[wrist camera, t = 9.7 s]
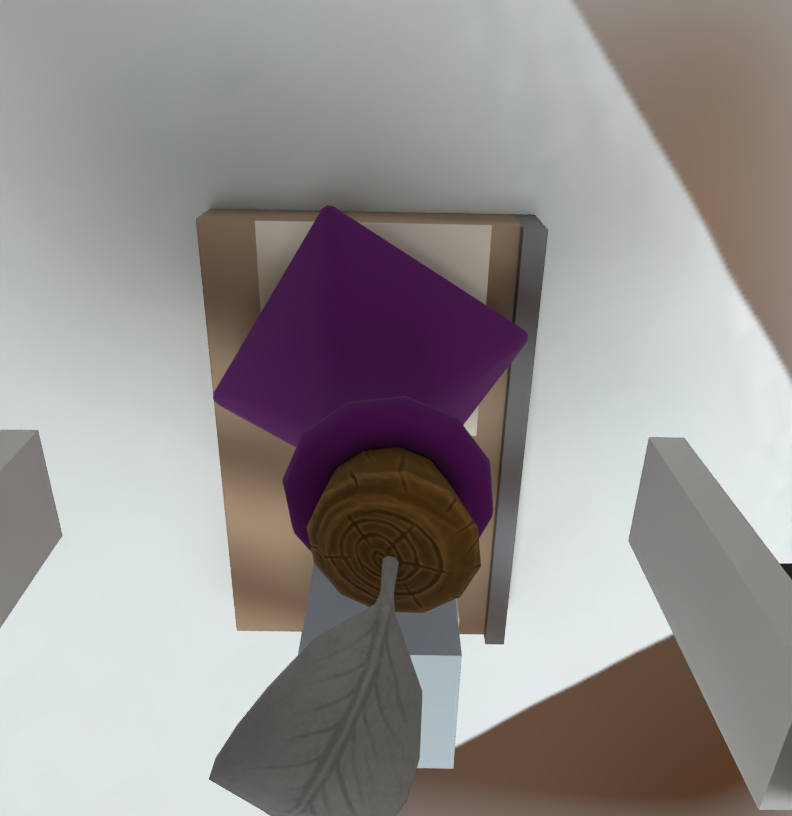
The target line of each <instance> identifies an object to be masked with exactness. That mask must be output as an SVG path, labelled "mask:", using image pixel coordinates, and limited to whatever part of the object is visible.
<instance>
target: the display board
mask: <svg viewBox="0 0 792 816" xmlns="http://www.w3.org/2000/svg"><path fill="white" fill-rule="evenodd" d="M341 212H342V211H341ZM319 213H320V211H288V210H234V209H209V210H208V211H207V212H205V213H204V214H203V215H201V216H200V217H199V218H197V219H196V224H197V234H198V245H199V255H200V265H201V275H202V285H203V295H204V305H205V315H206V325H207V335H208V345H209V355H210V365H211V375H212V385H213V394H214V391H215V389H216V388H217V386H218V384H219V383H220V381H221V379H222V378H223V376H224V374H225V373H226V371H227V369H228V367H229V366H230V364H231V362H232V361H233V359H234V357H235V356H236V354H237V352H238V350H239V349H240V347H241V345H242V344H243V342H244V340H245V339H246V337H247V335H248V333H249V332H250V330H251V328H252V327H253V325H254V323H255V322H256V320H257V318H258V316H259V315H260V313H261V311H262V310H263V308H264V306H265V305H266V303H267V301H268V299H269V298H270V296H271V294H272V293H273V291H274V289H275V288H276V286H277V284H278V283H279V281H280V279H281V277H282V276H283V274H284V272H285V271H286V269H287V267H288V266H289V264H290V262H291V260H292V259H293V257H294V255H295V254H296V252H297V250H298V249H299V247H300V245H301V243H302V242H303V240H304V238H305V237H306V235H307V233H308V232H309V230H310V228H311V226H312V225H313V223H314V221H315V220H316V218H317V216H318V215H319ZM343 213H344V214H346V215H348V216H349V217H351V218H352V219H354V220H355V221H357V222H358V223H360V224H361V225H363V226H365V227H366V228H368V229H369V230H371V231H372V232H374V233H375V234H377V235H379V236H380V237H382V238H383V239H385V240H386V241H388V242H389V243H391V244H392V245H394V246H396V247H397V248H399V249H400V250H402V251H403V252H405V253H406V254H408V255H409V256H411V257H413V258H414V259H416V260H417V261H419V262H420V263H422V264H423V265H425V266H426V267H428V268H430V269H431V270H433V271H434V272H436V273H437V274H439V275H440V276H442V277H443V278H445V279H447V280H448V281H450V282H451V283H453V284H454V285H456V286H457V287H459V288H460V289H462V290H464V291H465V292H467V293H468V294H470V295H471V296H473V297H474V298H476V299H478V300H479V301H481V302H482V303H484V304H485V305H487V306H488V307H490V308H491V309H493V310H495V311H496V312H498V313H499V314H501V315H502V316H504V317H505V318H507V319H508V320H510V321H512V322H513V323H515V324H516V325H518V326H519V327H521V328H522V329H524V330H525V331H526V332H527V334H528V339H527V342H526V344H525V345H524V347H523V348H522V349H521V351H520V352H519V353H518V354H517V356H516V357H515V358H514V360H513V361H512V362H511V364H510V365H509V366H508V368H507V369H506V370H505V371H504V373H503V374H502V375H501V377H500V378H499V379H498V381H497V382H496V383H495V384H494V386H493V387H492V388H491V390H490V391H489V392H488V394H487V395H486V396H485V397H484V399H483V400H482V401H481V403H480V404H479V405H478V407H477V408H476V409H475V411H474V412H473V413H472V414H471V416H470V417H469V418H468V420H467V421H466V422H465V424H464V425H463V426H464V427H465V428H466V430H467V431H468V432H469V434H470V435H471V436H472V438H473V439H474V440H475V442H476V443H477V444H478V445H479V447H480V448H481V449H482V451H483V452H484V453H485V455H486V456H487V457H488V459H489V460H490V465H491V480H492V494H493V508H494V510H493V515H492V518H491V520H490V521H489V523H488V525H487V526H486V528H485V530H484V531H483V533H482V535H481V536H480V538H479V546H480V558H481V567H480V569H479V570H478V572H477V573H476V575H475V576H474V578H473V579H472V581H471V582H470V584H469V585H468V587H467V588H466V590H465V591H464V592H463V594H462V595H461V597H459V598H457V602H458V611H459V634H484V638H485V644H504V636H505V627H506V618H507V608H508V599H509V589H510V580H511V571H512V561H513V552H514V543H515V533H516V524H517V515H518V505H519V496H520V487H521V477H522V468H523V459H524V449H525V440H526V430H527V421H528V412H529V402H530V393H531V384H532V374H533V365H534V356H535V346H536V337H537V328H538V318H539V309H540V299H541V290H542V281H543V271H544V262H545V253H546V243H547V234H548V229H547V228H546V227H545V226H544V225H543V224H542V223H541V222H540V220H539V219H538V218H537V217H536V216H535V215H503V214H449V213H396V212H343ZM214 405H215V416H216V426H217V436H218V446H219V456H220V466H221V476H222V486H223V496H224V506H225V516H226V526H227V536H228V546H229V556H230V566H231V577H232V587H233V597H234V607H235V617H236V627H237V630H238V631H301V632H302V629H303V623H304V618H305V612H306V606H307V600H308V594H309V588H310V582H311V577H312V571H313V565H314V560H313V556H312V552H311V551H310V550H309V549H308V548H307V547H306V546H305V545H304V543H303V542H302V541H301V540H300V539H299V538H298V537H297V536H296V535H295V534H294V531H293V528H292V524H291V519H290V515H289V510H288V505H287V500H286V495H285V491H284V486H283V481H282V479H283V477H284V474H285V472H286V470H287V468H288V465H289V463H290V461H291V458H292V456H293V454H294V452H295V449H296V447H294V446H292V445H290V444H288V443H287V442H285V441H283V440H281V439H279V438H277V437H276V436H274V435H272V434H270V433H268V432H267V431H265V430H263V429H261V428H259V427H257V426H256V425H254V424H252V423H250V422H248V421H246V420H245V419H243V418H241V417H239V416H237V415H236V414H234V413H232V412H230V411H228V410H226V409H225V408H223V407H221V406H219V405H218V404H217V403H216V402H215V401H214Z"/></svg>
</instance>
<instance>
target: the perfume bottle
mask: <svg viewBox="0 0 792 816" xmlns="http://www.w3.org/2000/svg"><path fill="white" fill-rule="evenodd" d="M527 339H528V334H527V332H526V331H525V330H524V329H522V328H521V327H519V326H518V325H516V324H515V323H513V322H512V321H510V320H508V319H507V318H505V317H504V316H502V315H501V314H499V313H498V312H496V311H495V310H493V309H491V308H490V307H488V306H487V305H485V304H484V303H482V302H481V301H479V300H478V299H476V298H474V297H473V296H471V295H470V294H468V293H467V292H465V291H464V290H462V289H460V288H459V287H457V286H456V285H454V284H453V283H451V282H450V281H448V280H447V279H445V278H443V277H442V276H440V275H439V274H437V273H436V272H434V271H433V270H431V269H430V268H428V267H426V266H425V265H423V264H422V263H420V262H419V261H417V260H416V259H414V258H413V257H411V256H409V255H408V254H406V253H405V252H403V251H402V250H400V249H399V248H397V247H396V246H394V245H392V244H391V243H389V242H388V241H386V240H385V239H383V238H382V237H380V236H379V235H377V234H375V233H374V232H372V231H371V230H369V229H368V228H366V227H365V226H363V225H361V224H360V223H358V222H357V221H355V220H354V219H352V218H351V217H349V216H348V215H346V214H344V213H343V212H341V211H340V210H338V209H337V208H335V207H333V206H326V207H324V208H323V209H322V210H321V211H320V213H319V215H318V216H317V218H316V220H315V221H314V223H313V225H312V226H311V228H310V230H309V232H308V233H307V235H306V237H305V238H304V240H303V242H302V243H301V245H300V247H299V249H298V250H297V252H296V254H295V255H294V257H293V259H292V260H291V262H290V264H289V266H288V267H287V269H286V271H285V272H284V274H283V276H282V277H281V279H280V281H279V283H278V284H277V286H276V288H275V289H274V291H273V293H272V294H271V296H270V298H269V299H268V301H267V303H266V305H265V306H264V308H263V310H262V311H261V313H260V315H259V316H258V318H257V320H256V322H255V323H254V325H253V327H252V328H251V330H250V332H249V333H248V335H247V337H246V339H245V340H244V342H243V344H242V345H241V347H240V349H239V350H238V352H237V354H236V356H235V357H234V359H233V361H232V362H231V364H230V366H229V367H228V369H227V371H226V373H225V374H224V376H223V378H222V379H221V381H220V383H219V384H218V386H217V388H216V389H215V391H214V394H213V399H214V401H215V402H216V403H217V404H218V405H219V406H221V407H223V408H225V409H226V410H228V411H230V412H232V413H234V414H236V415H237V416H239V417H241V418H243V419H245V420H246V421H248V422H250V423H252V424H254V425H256V426H257V427H259V428H261V429H263V430H265V431H267V432H268V433H270V434H272V435H274V436H276V437H277V438H279V439H281V440H283V441H285V442H287V443H288V444H290V445H292V446H294V447H296V449H295V452H294V454H293V456H292V458H291V461H290V463H289V465H288V468H287V470H286V472H285V474H284V477H283V479H282V481H283V486H284V491H285V495H286V500H287V505H288V510H289V515H290V519H291V524H292V528H293V531H294V534H295V535H296V536H297V537H298V538H299V539H300V540H301V541H302V542H303V543H304V545H305V546H306V547H307V548H308V549H309V550H310V551H311V552H312V556H313V560H314V564H315V565H316V567H317V568H318V569H319V570H320V571H321V572H322V573H323V575H324V576H325V577H326V578H327V579H328V580H329V581H330V583H331V584H332V585H333V586H334V587H335V588H336V589H337V591H338V592H339V593H340V594H341V595H343V596H346V597H348V598H350V599H352V600H354V601H356V602H359V603H361V604H363V605H365V606H368V607H369V608H367V609H365V610H364V611H362V612H360V613H358V614H357V615H355V616H353V617H351V618H350V619H348V620H346V621H344V622H342V623H341V624H339V625H337V626H335V627H334V628H332V629H330V630H328V631H327V632H325V633H323V634H321V635H320V636H318V637H316V638H314V639H313V640H312V641H311V642H310V643H309V644H308V645H307V646H306V647H305V649H304V650H303V651H302V652H301V653H300V654H299V655H298V656H297V657H296V658H295V659H294V660H293V661H292V662H291V663H290V664H289V665H288V666H287V667H286V668H285V670H284V671H283V672H282V673H281V674H280V675H279V676H278V677H277V678H276V679H275V680H274V681H273V682H272V683H271V684H270V685H269V686H268V687H267V689H266V690H265V691H264V692H263V694H262V695H261V696H260V697H259V699H258V700H257V701H256V702H255V704H254V705H253V706H252V707H251V709H250V710H249V711H248V712H247V714H246V715H245V716H244V717H243V719H242V720H241V721H240V722H239V723H238V725H237V726H236V728H235V729H234V731H233V732H232V734H231V735H230V737H229V738H228V740H227V741H226V743H225V745H224V746H223V748H222V749H221V751H220V752H219V754H218V755H217V757H216V758H215V762H214V765H213V768H212V771H211V774H210V777H209V780H211V781H213V782H214V783H216V784H218V785H220V786H221V787H223V788H225V789H226V790H228V791H230V792H232V793H233V794H235V795H237V796H238V797H240V798H242V799H244V800H245V801H247V802H249V803H250V804H252V805H254V806H256V807H257V808H259V809H261V810H263V811H264V812H266V813H267V814H269V815H270V816H396V815H397V814H398V812H399V811H400V810H401V808H402V807H403V806H404V804H405V803H406V801H407V798H408V795H409V792H410V788H411V785H412V782H413V779H414V775H415V772H416V769H417V766H418V762H419V759H420V742H421V718H422V695H423V691H422V689H421V686H420V683H419V680H418V677H417V674H416V672H415V669H414V666H413V663H412V660H411V657H410V654H409V652H408V649H407V646H406V643H405V640H404V637H403V635H402V632H401V629H400V626H399V623H398V620H397V617H396V615H395V612H400V613H425V612H427V611H429V610H431V609H434V608H436V607H438V606H441V605H443V604H445V603H448V602H450V601H452V600H455V599H457V598H459V597H461V595H462V594H463V592H464V591H465V590H466V588H467V587H468V585H469V584H470V582H471V581H472V579H473V578H474V576H475V575H476V573H477V572H478V570H479V569H480V567H481V558H480V546H479V538H480V536H481V535H482V533H483V531H484V530H485V528H486V526H487V525H488V523H489V521H490V520H491V518H492V515H493V510H494V508H493V494H492V480H491V465H490V460H489V459H488V457H487V456H486V455H485V453H484V452H483V451H482V449H481V448H480V447H479V445H478V444H477V443H476V442H475V440H474V439H473V438H472V436H471V435H470V434H469V432H468V431H467V430H466V428H465V427H464V426H463V425H464V424H465V422H466V421H467V420H468V418H469V417H470V416H471V414H472V413H473V412H474V411H475V409H476V408H477V407H478V405H479V404H480V403H481V401H482V400H483V399H484V397H485V396H486V395H487V394H488V392H489V391H490V390H491V388H492V387H493V386H494V384H495V383H496V382H497V381H498V379H499V378H500V377H501V375H502V374H503V373H504V371H505V370H506V369H507V368H508V366H509V365H510V364H511V362H512V361H513V360H514V358H515V357H516V356H517V354H518V353H519V352H520V351H521V349H522V348H523V347H524V345H525V344H526V342H527Z"/></svg>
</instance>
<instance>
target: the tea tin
mask: <svg viewBox="0 0 792 816" xmlns="http://www.w3.org/2000/svg"><path fill="white" fill-rule="evenodd" d="M367 608H369V607H368V606H365V605H363V604H361V603H359V602H356V601H354V600H352V599H350V598H348V597H346V596H343V595H341V594H340V593H339V592H338V591H337V589H336V588H335V587H334V586H333V585H332V584H331V583H330V581H329V580H328V579H327V578H326V577H325V576H324V575H323V573H322V572H321V571H320V570H319V569H318V568H317V567H316V565H315V564H314V565H313V571H312V577H311V582H310V588H309V594H308V600H307V606H306V612H305V618H304V623H303V629H302V635H301V641H300V647H299V653H298V655H299V654H300V653H301V652H302V651H303V650H304V649H305V647H306V646H307V645H308V644H309V643H310V642H311V641H312V640H313V639H314V638H316V637H318V636H320V635H321V634H323V633H325V632H327V631H328V630H330V629H332V628H334V627H335V626H337V625H339V624H341V623H342V622H344V621H346V620H348V619H350V618H351V617H353V616H355V615H357V614H358V613H360V612H362V611H364V610H365V609H367ZM395 615H396V617H397V620H398V623H399V626H400V629H401V632H402V635H403V637H404V640H405V643H406V646H407V649H408V652H409V654H410V657H411V660H412V663H413V666H414V669H415V672H416V674H417V677H418V680H419V683H420V686H421V689H422V691H423V695H422V718H421V742H420V759H419V762H418V766H417V768H453V764H454V751H455V737H456V724H457V711H458V697H459V684H460V671H461V657H462V655H461V646H460V636H459V611H458V602H457V599H455V600H452V601H450V602H448V603H445V604H443V605H441V606H438V607H436V608H434V609H431V610H429V611H427V612H425V613H400V612H395Z"/></svg>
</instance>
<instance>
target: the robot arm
mask: <svg viewBox="0 0 792 816" xmlns="http://www.w3.org/2000/svg"><path fill="white" fill-rule="evenodd" d="M61 537H62V532H61V527H60V523H59V519H58V514H57V510H56V506H55V501H54V497H53V493H52V489H51V484H50V480H49V476H48V471H47V467H46V463H45V458H44V454H43V450H42V445H41V441H40V437H39V432H38V430H1V431H0V627H1V626H2V624H3V623H4V621H5V620H6V618H7V617H8V616H9V614H10V613H11V611H12V610H13V608H14V607H15V605H16V604H17V602H18V601H19V599H20V598H21V596H22V595H23V593H24V592H25V590H26V589H27V587H28V586H29V584H30V583H31V581H32V580H33V578H34V577H35V575H36V574H37V572H38V571H39V569H40V568H41V566H42V565H43V563H44V562H45V560H46V559H47V558H48V556H49V555H50V553H51V552H52V550H53V549H54V547H55V546H56V544H57V543H58V541H59V540H60V538H61ZM628 541H629V543H630V545H631V547H632V549H633V551H634V553H635V556H636V558H637V560H638V562H639V564H640V566H641V568H642V570H643V572H644V574H645V576H646V578H647V580H648V582H649V584H650V586H651V589H652V591H653V593H654V595H655V597H656V599H657V601H658V603H659V605H660V607H661V609H662V611H663V613H664V615H665V617H666V619H667V622H668V624H669V626H670V628H671V630H672V632H673V634H674V636H675V638H676V640H677V642H678V644H679V646H680V648H681V650H682V652H683V655H684V657H685V659H686V661H687V663H688V665H689V667H690V669H691V671H692V673H693V675H694V677H695V679H696V681H697V683H698V685H699V687H700V690H701V692H702V694H703V696H704V698H705V700H706V702H707V704H708V706H709V708H710V710H711V712H712V714H713V716H714V718H715V720H716V723H717V725H718V727H719V729H720V731H721V733H722V735H723V737H724V739H725V741H726V743H727V745H728V747H729V749H730V751H731V753H732V755H733V758H734V760H735V762H736V763H737V766H738V768H739V770H740V772H741V774H742V776H743V778H744V780H745V782H746V784H747V786H748V788H749V791H750V792H751V795H752V797H753V799H754V801H755V803H756V805H757V807H758V809H759V810H792V564H779V562H778V561H777V560H776V558H775V557H774V556H773V554H772V553H771V552H770V550H769V549H768V548H767V547H766V545H765V544H764V543H763V541H762V540H761V539H760V537H759V536H758V535H757V533H756V532H755V531H754V529H753V528H752V527H751V525H750V524H749V523H748V521H747V520H746V519H745V517H744V516H743V515H742V513H741V512H740V511H739V510H738V508H737V507H736V506H735V504H734V503H733V502H732V500H731V499H730V498H729V496H728V495H727V494H726V492H725V491H724V490H723V488H722V487H721V486H720V484H719V483H718V482H717V480H716V479H715V478H714V477H713V475H712V474H711V473H710V471H709V470H708V469H707V467H706V466H705V465H704V463H703V462H702V461H701V459H700V458H699V457H698V455H697V454H696V453H695V451H694V450H693V449H692V447H691V446H690V445H689V443H688V442H687V441H686V440H685V438H660V437H649V440H648V445H647V450H646V455H645V460H644V465H643V470H642V475H641V480H640V485H639V490H638V495H637V500H636V505H635V510H634V515H633V520H632V525H631V530H630V535H629V540H628Z"/></svg>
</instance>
